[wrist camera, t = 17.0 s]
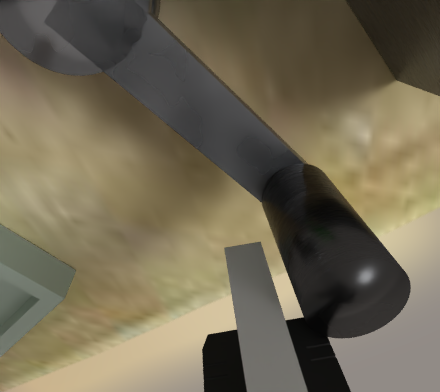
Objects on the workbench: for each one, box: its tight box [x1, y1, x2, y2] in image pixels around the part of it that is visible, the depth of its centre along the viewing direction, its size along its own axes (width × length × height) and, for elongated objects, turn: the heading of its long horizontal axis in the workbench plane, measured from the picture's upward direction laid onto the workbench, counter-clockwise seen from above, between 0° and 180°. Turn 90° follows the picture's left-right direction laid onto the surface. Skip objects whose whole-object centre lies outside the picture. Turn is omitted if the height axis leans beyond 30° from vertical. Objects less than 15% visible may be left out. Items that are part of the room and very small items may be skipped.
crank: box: [0, 0, 410, 338], centre depth 10 cm, size 15×5×7 cm, turn 47°
